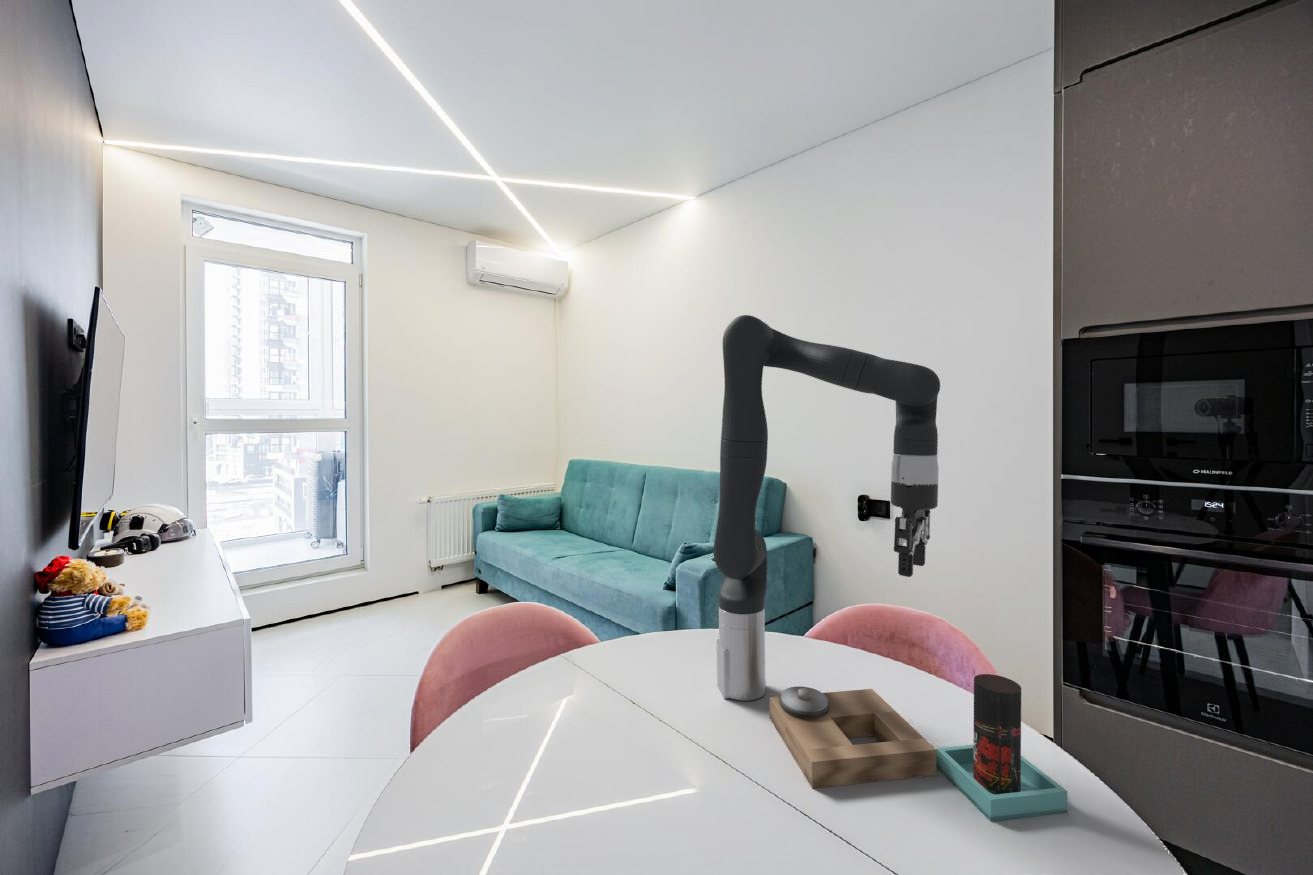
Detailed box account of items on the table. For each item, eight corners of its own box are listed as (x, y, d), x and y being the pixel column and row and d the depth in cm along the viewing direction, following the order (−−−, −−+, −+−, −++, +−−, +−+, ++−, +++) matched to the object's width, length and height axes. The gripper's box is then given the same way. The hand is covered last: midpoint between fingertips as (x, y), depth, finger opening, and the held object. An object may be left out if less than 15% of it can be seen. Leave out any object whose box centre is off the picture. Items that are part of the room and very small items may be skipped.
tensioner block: (812, 788, 80) (811, 743, 80) (769, 717, 99) (768, 681, 99) (936, 775, 82) (936, 731, 82) (871, 708, 102) (870, 673, 101)
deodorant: (964, 770, 82) (965, 674, 82) (1001, 769, 83) (1002, 673, 82) (990, 797, 76) (991, 694, 76) (1030, 795, 77) (1031, 692, 76)
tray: (990, 821, 73) (990, 799, 73) (936, 766, 84) (936, 748, 84) (1067, 812, 74) (1067, 790, 74) (1003, 759, 86) (1003, 741, 86)
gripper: (902, 475, 103) (900, 558, 103) (879, 481, 92) (877, 575, 92) (946, 478, 98) (943, 565, 99) (927, 485, 87) (925, 584, 88)
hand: (911, 570), depth 96 cm, fingers open, 8 cm apart
